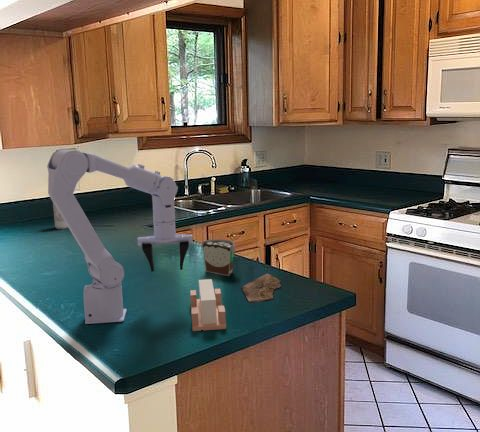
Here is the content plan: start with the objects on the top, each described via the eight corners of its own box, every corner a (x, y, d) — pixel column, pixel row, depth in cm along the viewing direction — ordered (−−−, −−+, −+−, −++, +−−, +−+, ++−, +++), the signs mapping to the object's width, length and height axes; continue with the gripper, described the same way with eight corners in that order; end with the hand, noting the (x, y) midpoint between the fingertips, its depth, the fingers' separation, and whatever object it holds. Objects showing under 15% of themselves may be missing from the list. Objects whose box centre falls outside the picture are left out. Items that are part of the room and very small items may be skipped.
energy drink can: (71, 226, 248) (68, 194, 245) (65, 229, 242) (62, 196, 239) (59, 226, 249) (56, 194, 246) (52, 229, 243) (49, 196, 240)
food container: (243, 271, 172) (243, 241, 170) (232, 276, 167) (232, 245, 165) (213, 266, 178) (212, 237, 176) (202, 270, 174) (200, 241, 172)
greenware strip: (202, 324, 127) (201, 300, 126) (199, 301, 143) (198, 279, 142) (216, 323, 128) (215, 299, 127) (212, 300, 143) (211, 279, 142)
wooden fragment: (270, 304, 142) (269, 301, 142) (230, 302, 145) (230, 298, 145) (288, 276, 167) (288, 273, 166) (254, 274, 170) (254, 271, 170)
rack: (192, 331, 126) (191, 315, 125) (190, 303, 145) (190, 289, 144) (226, 328, 127) (225, 313, 126) (220, 301, 145) (219, 287, 145)
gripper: (135, 225, 136) (138, 275, 139) (192, 222, 138) (194, 272, 140) (137, 219, 143) (140, 267, 146) (191, 217, 145) (193, 264, 147)
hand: (167, 269), depth 144 cm, fingers open, 7 cm apart
